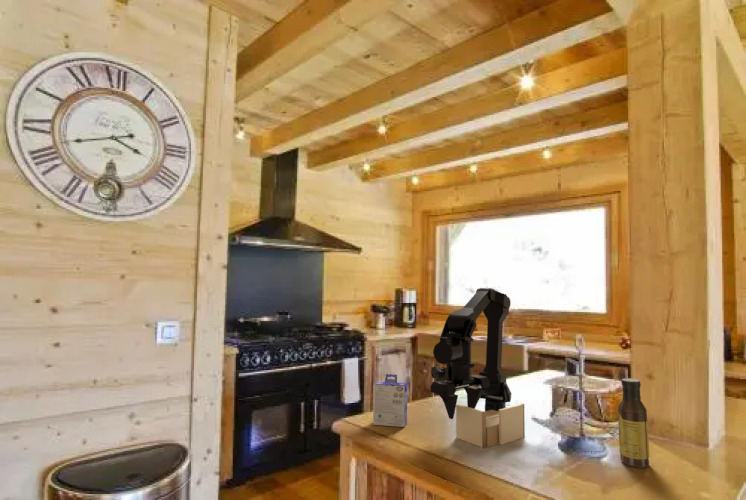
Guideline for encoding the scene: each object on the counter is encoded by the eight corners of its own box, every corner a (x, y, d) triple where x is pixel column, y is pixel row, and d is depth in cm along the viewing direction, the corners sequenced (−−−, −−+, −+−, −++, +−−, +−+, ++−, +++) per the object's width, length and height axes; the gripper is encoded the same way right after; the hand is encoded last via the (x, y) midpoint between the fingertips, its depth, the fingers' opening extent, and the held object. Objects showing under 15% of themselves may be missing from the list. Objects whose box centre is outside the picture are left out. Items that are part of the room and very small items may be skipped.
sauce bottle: (630, 456, 114) (628, 376, 115) (655, 466, 108) (652, 380, 109) (613, 460, 111) (611, 378, 112) (638, 470, 105) (635, 383, 107)
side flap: (522, 435, 128) (521, 403, 129) (525, 436, 128) (525, 404, 128) (498, 443, 122) (498, 409, 122) (501, 444, 121) (501, 410, 122)
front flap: (458, 437, 127) (458, 404, 127) (486, 447, 119) (486, 412, 120) (456, 437, 126) (456, 404, 127) (484, 448, 118) (484, 412, 119)
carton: (491, 426, 136) (491, 408, 137) (520, 435, 128) (520, 416, 129) (458, 436, 127) (458, 417, 128) (487, 446, 119) (487, 426, 120)
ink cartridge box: (407, 422, 140) (408, 374, 141) (405, 427, 134) (405, 378, 135) (376, 420, 142) (376, 372, 143) (372, 425, 136) (373, 376, 137)
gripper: (460, 352, 139) (461, 404, 138) (416, 358, 128) (416, 415, 126) (490, 357, 130) (491, 413, 129) (445, 364, 119) (445, 425, 118)
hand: (460, 416), depth 126 cm, fingers open, 8 cm apart
